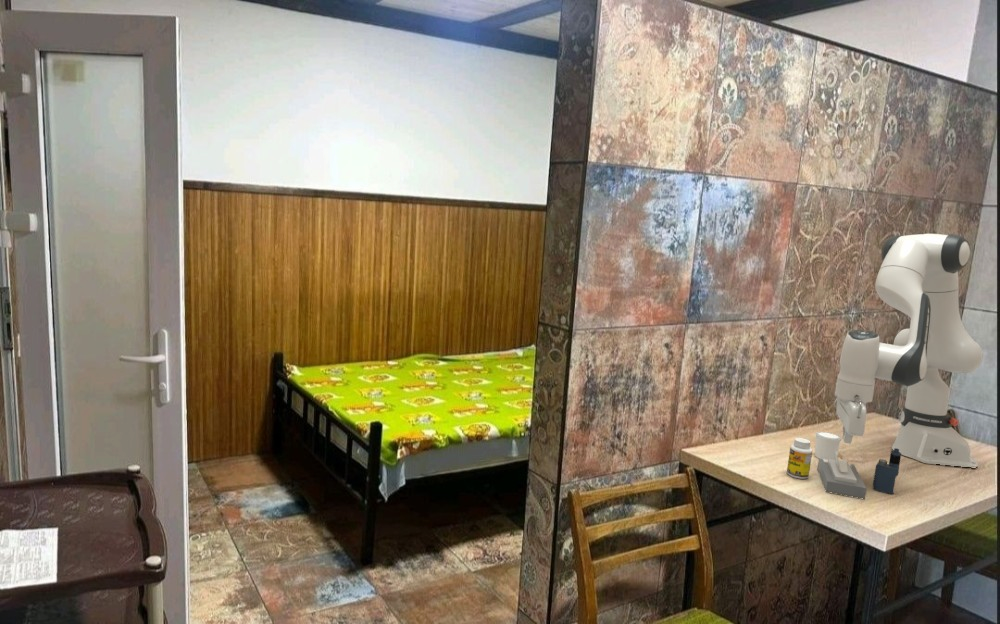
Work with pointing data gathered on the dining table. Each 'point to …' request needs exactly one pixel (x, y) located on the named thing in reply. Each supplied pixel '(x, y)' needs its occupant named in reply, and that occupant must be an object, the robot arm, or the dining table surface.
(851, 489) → the panel
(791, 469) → the supplement bottle
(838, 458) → the double breaker paddle
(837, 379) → the robot arm
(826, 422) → the dining table surface
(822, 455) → the white cylinder
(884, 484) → the vaping device
